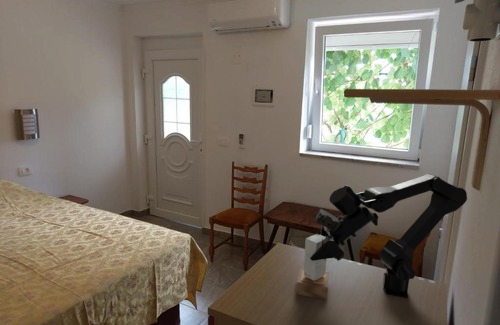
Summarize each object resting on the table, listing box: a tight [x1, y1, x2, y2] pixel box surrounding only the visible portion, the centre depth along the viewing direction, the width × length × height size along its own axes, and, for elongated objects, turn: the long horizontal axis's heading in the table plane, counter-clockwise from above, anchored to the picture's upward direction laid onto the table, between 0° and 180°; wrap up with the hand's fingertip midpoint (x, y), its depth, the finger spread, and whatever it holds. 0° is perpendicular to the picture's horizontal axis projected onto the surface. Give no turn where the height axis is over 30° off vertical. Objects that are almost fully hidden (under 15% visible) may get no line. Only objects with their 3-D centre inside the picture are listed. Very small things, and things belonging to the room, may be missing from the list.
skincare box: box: [303, 233, 327, 281], centre depth 101 cm, size 6×4×12 cm
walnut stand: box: [295, 267, 330, 301], centre depth 103 cm, size 9×9×4 cm
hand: (311, 253), depth 101 cm, fingers closed on skincare box, 7 cm apart
